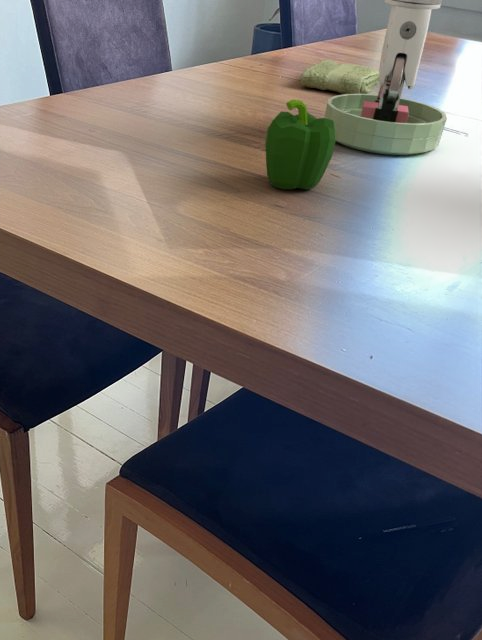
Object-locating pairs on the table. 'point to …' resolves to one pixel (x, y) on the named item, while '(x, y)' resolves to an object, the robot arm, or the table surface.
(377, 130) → the bowl
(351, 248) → the table surface
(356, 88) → the washcloth
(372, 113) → the eraser
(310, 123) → the bell pepper
